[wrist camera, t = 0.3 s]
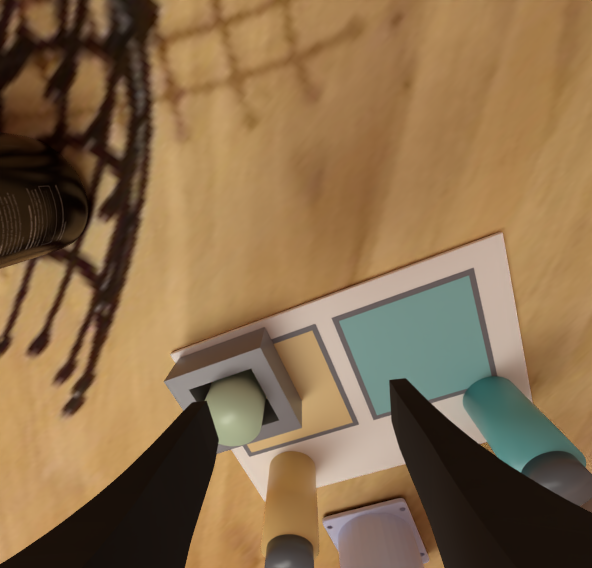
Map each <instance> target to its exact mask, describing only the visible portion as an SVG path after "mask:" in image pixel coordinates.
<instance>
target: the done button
mask: <svg viewBox="0 0 592 568" xmlns="http://www.w3.org/2000/svg"><path fill="white" fill-rule="evenodd" d="M205 401H207V403H208V406H209V409H210V413H211V416H212V419H213V422H214V425H215V428H216V432H217V435H218V438H219V443H218V444H221V445H225V446H241V445H245V444H247V443H249V442H251V441H253V440H254V439H255V438H256V437H257V436H258V434H259V433H260V430H261V426H262V420H263V413H264V407H265V401H266V395H265V393H264V391H263V389H262V388H261V386H260V384H259V382H258V380H257V379H256V377H255V375H254V373H253V371H252V369H248V370H245V371H242V372H239V373H236V374H234V375H231V376H228V377H225V378H222V379H219V380H216V381H213V382H212V384H211V387H210V389H209V392H208V394H207V396H206V399H205Z"/></svg>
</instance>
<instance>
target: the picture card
mask: <svg viewBox="0 0 592 568" xmlns="http://www.w3.org/2000/svg"><path fill="white" fill-rule="evenodd" d="M263 327H265V328H266V330H267V332H268V334H269V336H270V338H271V340H272V342H273V344H274V346H275V348H276V350H277V352H278V354H279V356H280V358H281V360H282V362H283V364H284V366H285V368H286V370H287V372H288V374H289V376H290V378H291V380H292V382H293V384H294V386H295V388H296V390H297V392H298V394H299V396H300V398H301V400H302V428H300V429H297V430H294V431H290V432H287V433H284V434H280V435H277V436H274V437H270V438H267V439H264V440H261V441H257V442H254V443H251V444H247V445H244V446H241V447H237V448H234V449H231V450H232V452H233V453H234V455H235V456H236V458H237V459H238V461H239V462H240V464H241V466H242V467H243V469H244V470H245V472H246V473H247V475H248V476H249V478H250V479H251V481H252V483H253V484H254V486H255V487H256V489H257V490H258V492H259V493H260V495H261V497H262V498H263V500H264V501H265V502H266V494H267V485H268V476H269V467H270V463H271V461H272V459H273V458H274V457H275V456H277V455H278V454H280V453H283V452H287V451H296V452H301V453H304V454H306V455H308V456H309V457H310V458H311V459H312V460H313V461H314V463H315V467H316V488H318V487H321V486H325V485H329V484H333V483H336V482H340V481H344V480H347V479H351V478H355V477H359V476H362V475H366V474H370V473H373V472H377V471H381V470H385V469H388V468H392V467H396V466H400V465H403V464H406V463H405V461H404V458H403V456H402V454H401V451H400V449H399V445H398V442H397V439H396V435H395V432H394V429H393V425H392V422H391V405H390V387H389V380H393V379H402V378H406V379H407V380H408V381H409V382H410V383H411V384H412V385H413V386H414V387H415V388H416V389H417V390H418V391H419V392H420V393H421V394H422V395H423V396H424V397H425V398H426V399H427V400H428V401H429V402H430V403H431V404H432V405H434V406H435V407H436V408H437V409H438V410H439V411H440V412H441V413H442V414H443V415H445V416H446V417H447V418H448V419H449V420H450V421H451V422H452V423H454V424H455V425H456V426H457V427H458V428H460V429H461V430H462V431H463V432H465V433H466V434H467V435H468V436H469V437H471V438H472V439H473V440H475V441H476V442H477V443H478V444H481V443H485V442H487V441H486V440H485V438H484V437H483V435H482V434H481V432H480V431H479V429H478V428H477V426H476V425H475V423H474V422H473V420H472V419H471V417H470V416H469V415H468V413H467V412H466V410H465V408H464V406H463V396H464V394H465V392H466V390H467V389H468V388H469V387H470V386H471V385H472V384H473V383H475V382H477V381H478V380H480V379H483V378H486V377H492V376H499V377H504V378H506V379H508V380H510V381H511V382H512V383H513V384H514V385H515V386H516V387H517V388H518V389H519V390H520V391H521V392H522V393H523V394H524V395H525V396H526V397H527V398H528V399H529V400H530V401H531V402H532V396H531V390H530V385H529V379H528V373H527V368H526V362H525V357H524V351H523V345H522V340H521V334H520V328H519V323H518V317H517V311H516V306H515V300H514V294H513V289H512V283H511V277H510V272H509V266H508V260H507V255H506V249H505V243H504V238H503V233H502V232H498V233H495V234H493V235H490V236H487V237H484V238H482V239H479V240H476V241H474V242H471V243H468V244H465V245H463V246H460V247H457V248H455V249H452V250H449V251H446V252H444V253H441V254H438V255H435V256H433V257H430V258H427V259H425V260H422V261H419V262H416V263H414V264H411V265H408V266H405V267H403V268H400V269H397V270H395V271H392V272H389V273H386V274H384V275H381V276H378V277H376V278H373V279H370V280H367V281H365V282H362V283H359V284H356V285H354V286H351V287H348V288H346V289H343V290H340V291H337V292H335V293H332V294H329V295H327V296H324V297H321V298H318V299H316V300H313V301H310V302H307V303H305V304H302V305H299V306H297V307H294V308H291V309H288V310H286V311H283V312H280V313H277V314H275V315H272V316H269V317H267V318H264V319H261V320H258V321H256V322H253V323H250V324H248V325H245V326H242V327H239V328H237V329H234V330H231V331H228V332H226V333H223V334H220V335H218V336H215V337H212V338H209V339H207V340H204V341H201V342H198V343H196V344H193V345H190V346H188V347H185V348H182V349H179V350H177V351H174V352H172V353H171V354H170V355H171V357H172V358H173V360H174V362H175V363H176V362H177V361H178V359H179V358H180V357H183V356H186V355H189V354H191V353H194V352H197V351H200V350H202V349H205V348H208V347H211V346H213V345H216V344H219V343H222V342H224V341H227V340H230V339H233V338H235V337H238V336H241V335H244V334H246V333H249V332H252V331H255V330H257V329H260V328H263ZM211 383H212V382H211ZM266 399H267V397H266ZM532 403H533V402H532Z"/></svg>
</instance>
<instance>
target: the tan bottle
mask: <svg viewBox="0 0 592 568" xmlns="http://www.w3.org/2000/svg"><path fill="white" fill-rule="evenodd" d="M261 552H262V554H263V556H264V557H265V558H266V559H265V568H314V559H315V558H316V557H317V556H318V554H319V532H318V510H317V489H316V467H315V463H314V461H313V460H312V459H311V458H310V457H309V456H308V455H306V454H304V453H301V452H296V451H287V452H283V453H280V454H278V455H277V456H275V457H274V458H273V459H272V461H271V463H270V467H269V476H268V485H267V494H266V503H265V512H264V521H263V530H262V540H261Z"/></svg>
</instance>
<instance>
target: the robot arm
mask: <svg viewBox="0 0 592 568" xmlns="http://www.w3.org/2000/svg"><path fill="white" fill-rule="evenodd" d="M389 387H390V405H391V422H392V425H393V429H394V432H395V435H396V439H397V442H398V445H399V449H400V451H401V454H402V456H403V458H404V461H405V463H406V466H407V468H408V471H409V473H410V475H411V478H412V480H413V483H414V485H415V487H416V490H417V492H418V495H419V497H420V499H421V502H422V504H423V507H424V509H425V511H426V514H427V517H428V519H429V522H430V525H431V527H432V530H433V533H434V536H435V539H436V543H437V546H438V549H439V552H440V555H441V558H442V561H443V564H444V567H445V568H592V513H591V512H589V511H587V510H585V509H583V508H581V507H580V506H578V505H576V504H574V503H572V502H570V501H569V500H567V499H565V498H563V497H561V496H560V495H558V494H556V493H554V492H552V491H551V490H549V489H547V488H545V487H544V486H542V485H540V484H539V483H537V482H535V481H534V480H532V479H531V478H529V477H527V476H526V475H524V474H522V473H521V472H519V471H518V470H516V469H514V468H513V467H511V466H510V465H508V464H507V463H505V462H504V461H502V460H501V459H499V458H498V457H496V456H495V455H494V454H492V453H491V452H489V451H488V450H487V449H485V448H484V447H482V446H481V445H480V444H478V443H477V442H476V441H475V440H473V439H472V438H471V437H469V436H468V435H467V434H466V433H465V432H463V431H462V430H461V429H460V428H458V427H457V426H456V425H455V424H454V423H452V422H451V421H450V420H449V419H448V418H447V417H446V416H445V415H443V414H442V413H441V412H440V411H439V410H438V409H437V408H436V407H435V406H434V405H432V404H431V403H430V402H429V401H428V400H427V399H426V398H425V397H424V396H423V395H422V394H421V393H420V392H419V391H418V390H417V389H416V388H415V387H414V386H413V385H412V384H411V383H410V382H409V381H408V380H407V379H406V378H402V379H393V380H389ZM218 443H219V438H218V435H217V432H216V428H215V425H214V422H213V419H212V416H211V413H210V409H209V406H208V403H207V401H199V402H192V403H191V404H190V405H189V406H188V407H187V408H186V409H185V410H184V411H183V412H182V413H181V414H180V415H179V416H178V417H177V419H176V420H175V421H174V422H173V423H172V424H171V425H170V426H169V427H168V428H167V429H166V430H165V431H164V432H163V433H162V435H161V436H160V437H159V438H158V439H157V440H156V441H155V442H154V443H153V444H152V445H151V446H150V447H149V448H148V449H147V450H146V451H145V452H144V453H143V454H142V455H141V456H140V457H139V458H138V459H137V460H136V461H135V462H134V463H133V464H132V465H131V466H130V467H129V468H128V469H126V470H125V471H124V472H123V473H122V474H121V475H120V476H119V477H118V478H117V479H115V480H114V481H113V482H112V483H111V484H110V485H108V486H107V487H106V488H105V489H104V490H103V491H101V492H100V493H99V494H98V495H97V496H95V497H94V498H93V499H92V500H90V501H89V502H88V503H87V504H85V505H84V506H83V507H81V508H80V509H79V510H77V511H76V512H75V513H74V514H72V515H71V516H70V517H68V518H67V519H66V520H65V521H63V522H62V523H61V524H59V525H58V526H56V527H55V528H54V529H52V530H51V531H49V532H48V533H47V534H45V535H44V536H42V537H41V538H39V539H38V540H36V541H35V542H34V543H32V544H31V545H29V546H28V547H26V548H25V549H23V550H22V551H20V552H19V553H17V554H16V555H14V556H13V557H11V558H10V559H8V560H6V561H5V562H3V563H2V564H0V568H185V565H186V560H187V556H188V551H189V547H190V543H191V540H192V536H193V532H194V529H195V526H196V523H197V520H198V516H199V513H200V510H201V507H202V504H203V501H204V497H205V494H206V491H207V488H208V485H209V481H210V478H211V475H212V472H213V468H214V464H215V459H216V454H217V448H218ZM323 525H324V527H325V529H326V531H327V532H328V534H329V536H330V538H331V539H332V541H333V543H334V545H335V546H336V548H337V550H338V552H339V559H340V568H424V566H423V564H424V563H427V562H428V561H429V557H428V554H427V551H426V549H425V547H424V544H423V542H422V539H421V537H420V535H419V532H418V530H417V527H416V525H415V522H414V520H413V518H412V515H411V513H410V510H409V508H408V505H407V503H406V501H405V499H403V498H397V499H393V500H389V501H385V502H381V503H377V504H373V505H370V506H366V507H362V508H358V509H354V510H350V511H346V512H342V513H338V514H334V515H330V516H326V517H324V518H323Z"/></svg>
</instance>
